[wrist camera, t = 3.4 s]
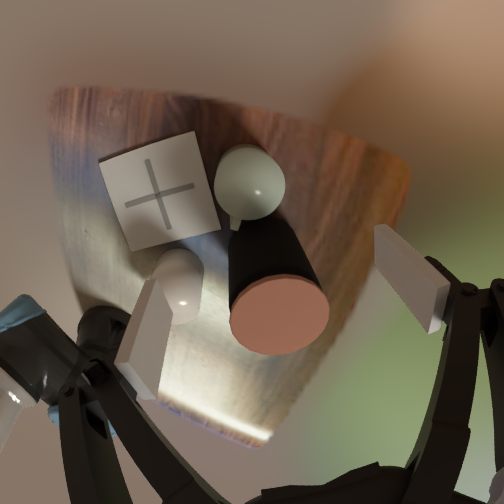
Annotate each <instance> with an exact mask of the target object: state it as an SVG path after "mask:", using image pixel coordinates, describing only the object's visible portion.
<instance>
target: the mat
mask: <svg viewBox="0 0 504 504" xmlns="http://www.w3.org/2000/svg"><path fill="white" fill-rule="evenodd" d="M99 166H100V169H101V172H102V175H103V178H104V181H105V184H106V187H107V190H108V193H109V195H110V198H111V201H112V204H113V207H114V209H115V212H116V215H117V217H118V220H119V222H120V225H121V227H122V230H123V233H124V235H125V237H126V240H127V242H128V245H129V247H130V250H131V252H133V251H137V250H141V249H145V248H148V247H152V246H156V245H160V244H164V243H168V242H172V241H176V240H180V239H184V238H188V237H192V236H196V235H200V234H204V233H208V232H212V231H216V230H220V229H221V226H220V222H219V219H218V215H217V212H216V208H215V204H214V201H213V197H212V194H211V190H210V187H209V183H208V179H207V176H206V172H205V168H204V165H203V161H202V157H201V154H200V150H199V146H198V142H197V139H196V135H195V131H192V132H188V133H185V134H181V135H178V136H175V137H171V138H168V139H165V140H162V141H159V142H156V143H153V144H150V145H147V146H144V147H141V148H138V149H135V150H133V151H130V152H127V153H124V154H122V155H119V156H117V157H114V158H111V159H109V160H106V161H104V162H101V163H99Z"/></svg>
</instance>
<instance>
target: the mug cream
mask: <svg viewBox="0 0 504 504" xmlns="http://www.w3.org/2000/svg"><path fill="white" fill-rule="evenodd" d="M203 277H204V267H203V264H202V262H201V260H200V259H199V257H198V256H197V255H195V254H194V253H193V252H191V251H189V250H186V249H181V248H175V249H170V250H168V251H166V252H164V253H163V254H162V255H161V256H160V257H159V259H158V261H157V263H156V266H155V268H154V271H153V273H152V275H151V278H150V280H151V279H155V278H157V280H158V282H159V284H160V286H161V289H162V291H163V293H164V295H165V297H166V299H167V301H168V304H169V306H170V308H171V310H172V312H173V317H172V322H171V325H183V324H186V323H188V322H190V321H192V320H193V319H194V318H195V317H196V316H197V314H198V312H199V309H200V301H201V293H202V285H203Z"/></svg>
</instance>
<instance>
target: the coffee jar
mask: <svg viewBox="0 0 504 504" xmlns="http://www.w3.org/2000/svg"><path fill="white" fill-rule="evenodd" d="M228 259H229V309H230V313H231V314H230V320H229V323H230V327H231V331H232V334H233V335H234V337H235V338H236V339H237V341H238V342H239V343H240V344H241V345H243V346H244V347H246V348H247V349H249V350H250V351H254V352H257V353H260V354H266V355H280V354H286V353H291V352H294V351H296V350H299V349H301V348H304V347H305V346H307V345H308V344H310V343H311V342H313V341H314V340H315V339H316V338H317V337H318V336H319V335H320V334H321V332H322V331H323V330H324V328H325V326H326V324H327V321H328V319H329V304H328V301H327V299H326V296H325V294H324V292H323V291H322V288H321V286H320V283H319V281H318V279H317V277H316V275H315V273H314V271H313V269H312V267H311V265H310V262H309V260H308V258H307V256H306V254H305V252H304V250H303V248H302V246H301V244H300V242H299V240H298V239H297V237H296V235H295V233H294V231H293V229H292V228H291V227H290V226H289V225H288V224H287V223H286V222H284V221H282V220H280V219H278V218H274V217H268V216H265V217H263V218H260V219H256V220H248V221H246V222H244V223H243V224H241V225H240V226H239V229H238V231H236V230H235V232H234V233H233V235H232V237H231V239H230V243H229V249H228Z"/></svg>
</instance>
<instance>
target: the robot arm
mask: <svg viewBox="0 0 504 504" xmlns="http://www.w3.org/2000/svg"><path fill="white" fill-rule="evenodd" d="M374 242H375V266H376V268H377V269H378V270H379V271H380V272H381V274H382V275H383V276H384V277H385V279H386V280H387V281H388V282H389V283H390V285H391V286H392V287H393V289H394V290H395V291H396V292H397V294H398V295H399V296H400V298H401V299H402V300H403V301H404V303H405V304H406V305H407V307H409V309H410V311H411V312H412V313H413V315H414V316H415V317H416V319H417V320H418V321H419V322H420V324H421V325H422V327H423V328H424V330H425V331H426V332H427V334H430V333H433V332H435V331H437V330H439V329H440V328H441V324H442V321H444V322H445V323H446V325H447V326H446V330H445V333H444V337H443V347H442V352H441V357H440V362H439V367H438V371H437V375H436V379H435V384H434V387H433V391H432V395H431V398H430V402H429V405H428V409H427V412H426V415H425V418H424V421H423V424H422V427H421V430H420V433H419V436H418V439H417V441H416V444H415V447H414V449H413V451H412V453H411V455H410V457H409V460H408V461H407V464H406V466H405V468H402V467H397V466H379V463H378V462H375V463H372V464H369V465H366V466H363V467H360V468H357V469H354V470H351V471H349V472H347V473H346V474H343V475H341V476H340V477H338V478H336V479H334V480H332V481H330V482H328V483H326V484H324V485H318V486H317V485H316V486H315V485H314V486H304V485H302V486H301V485H300V486H298V485H289V486H283V487H276V488H270V489H262V490H261V494H262V495H260V496H257V497H255V498H253V499H251V500H249V501H248V502H246V503H245V504H504V279H500V278H498V279H494V280H493V281H492V283H491V286H490V288H487V289H478V287H477V286H475V285H474V284H471V283H461V282H460V281H459V280H458V279H457V278H456V277H455V276H454V275H453V274H452V273H451V272H450V271H449V270H447V269H446V268H445V267H444V266H442V264H441V263H440V262H439V261H438V260H436V259H434V258H432V257H430V256H426V257H423V256H421V255H420V254H419V253H418V252H417V251H416V250H415V249H414V248H413V247H412V246H410V245H409V244H408V243H407V242H406V241H405V240H404V239H402V238H401V237H400V236H399V235H398V234H397V233H396V232H394V231H393V230H392V229H391V228H390V227H388V226H387V225H386V224H381V225H377V226H374ZM172 317H173V312H172V310H171V308H170V306H169V304H168V301H167V299H166V297H165V295H164V293H163V291H162V289H161V286H160V284H159V282H158V280H157V278H155V279H151V280H147V281H145V283H144V286H143V288H142V290H141V293H140V295H139V298H138V300H137V303H136V305H135V308H134V310H133V313H132V315H131V316H130V315H129V314H127V313H125V312H123V311H121V310H119V309H116V308H113V307H108V306H97V307H93V308H90V309H89V310H87V311H86V312H85V313H84V315H83V316H82V318H81V320H80V322H79V324H78V337H77V342H76V344H75V342H74V341H72V339H70V337H69V336H68V335H67V334H66V333H65V332H64V331H63V330H62V329H61V328H60V327H59V326H58V325H57V324H56V323H55V321H54V320H53V319H52V318H51V317H50V316H49V315H48V314H47V311H46V310H44V309H42V307H41V306H40V305H39V304H38V303H37V302H36V301H35V300H34V299H33V298H32V297H31V296H29V295H26V294H22V295H20V296H18V297H17V298H16V299H15V300H14V301H12V302H11V303H10V304H9V305H8V306H7V307H6V308H5V309H3V310H2V311H1V312H0V454H1V452H2V449H3V447H4V445H5V443H6V440H7V439H8V436H9V434H10V432H11V430H12V428H13V426H14V424H15V422H16V420H17V418H18V416H19V415H20V413H21V411H22V409H23V408H25V407H32V406H36V405H37V403H38V401H39V399H40V398H41V399H42V400H43V401H44V402H46V403H47V404H48V405H49V406H50V407H49V408H48V417H49V418H50V419H51V420H52V422H53V423H54V424H56V425H57V426H58V427H59V428H60V439H61V448H62V457H63V464H64V470H65V476H66V482H67V487H68V492H69V496H70V501H71V504H133V502H132V500H131V497H130V494H129V491H128V489H127V486H126V483H125V480H124V477H123V474H122V471H121V468H120V464H119V461H118V458H117V454H116V451H115V448H114V444H113V440H112V437H113V436H114V435H115V434H117V435H118V437H119V438H120V440H121V442H122V443H123V445H124V446H125V448H126V450H127V451H128V453H129V454H130V456H131V457H132V459H133V460H134V462H135V463H136V465H137V466H138V468H139V469H140V470H141V472H142V473H143V475H144V476H145V477H146V479H147V480H148V481H149V483H150V484H151V485H152V487H153V488H154V489H155V490H156V492H157V493H158V494H159V496H160V497H161V498H162V500H163V502H162V504H231V503H230V502H228V501H227V500H226V499H224V498H223V497H222V496H221V495H220V494H219V493H218V492H217V491H215V490H214V489H213V488H212V487H211V486H210V485H209V484H208V483H207V482H206V481H205V480H204V479H203V478H202V477H201V476H200V475H199V474H198V473H197V472H196V471H195V470H194V469H193V468H192V467H191V466H190V464H188V462H187V461H186V460H185V459H184V458H183V457H182V456H181V455H180V454H179V452H178V451H177V450H176V449H175V448H174V447H173V446H172V445H171V443H170V442H169V441H168V440H167V439H166V437H165V436H164V435H163V434H162V433H161V431H160V430H159V429H158V428H157V426H156V425H155V424H154V423H153V421H152V420H151V419H150V418H149V417H148V415H147V414H146V412H145V411H144V410H143V408H142V407H141V406H140V404H139V403H138V402H137V401H136V396H137V394H138V395H139V396H140V397H141V398H142V400H151V399H157V394H158V388H159V382H160V377H161V371H162V366H163V361H164V356H165V351H166V346H167V341H168V336H169V331H170V327H171V322H172ZM480 334H481V338H482V343H483V348H484V352H485V358H486V363H487V369H488V375H489V381H490V389H491V398H492V407H493V420H494V445H495V465H496V472H497V473H496V474H495V476H494V478H493V480H492V483H491V486H490V489H489V493H490V494H491V495H490V498H489V501H488V503H485V502H482V501H479V500H476V499H474V498H471V497H469V496H466V495H464V494H461V493H459V492H456V491H454V488H455V485H456V482H457V480H458V477H459V474H460V471H461V468H462V464H463V461H464V457H465V454H466V450H467V446H468V443H469V439H470V433H471V431H470V428H468V423H469V418H470V413H471V408H472V403H473V397H474V390H475V383H476V376H477V366H478V355H479V342H480Z"/></svg>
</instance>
